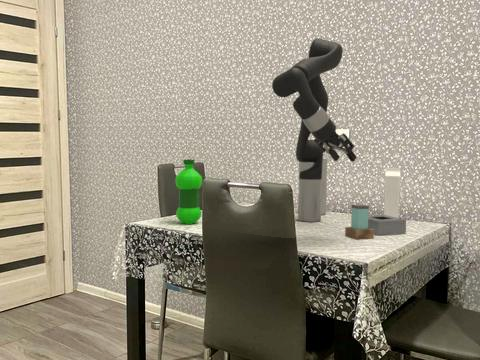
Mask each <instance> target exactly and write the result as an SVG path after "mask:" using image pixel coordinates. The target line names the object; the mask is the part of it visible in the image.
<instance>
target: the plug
mask: <svg viewBox="0 0 480 360" xmlns="http://www.w3.org/2000/svg"><path fill="white" fill-rule="evenodd" d="M369 209H370V206H369V205H367V204H362V203H361V204H357V203H355V204H351V214H350V215H351V218H350V223H351V224H350V227H351V228H352V229H356V230H366V229H368V216H369Z"/></svg>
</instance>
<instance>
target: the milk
mask: <svg viewBox="0 0 480 360" xmlns="http://www.w3.org/2000/svg"><path fill="white" fill-rule="evenodd" d="M384 175H385V176H384V177H385V178H384V203H383V204H384V205H383V215H387V216H392V217H396V218H400V199H401V198H400V196H401V168H400V167H385V172H384Z"/></svg>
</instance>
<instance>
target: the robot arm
mask: <svg viewBox="0 0 480 360" xmlns="http://www.w3.org/2000/svg"><path fill="white" fill-rule="evenodd" d="M343 53H344V52H343V47H342V45H341V44H340V43H338V42H335V41H331V40H327V39H323V38H314V39H313V40H312V42H311V44H310V46H309V51H308V57H306V58H303V59H301V60H299V61H298V62H297V63H295V64H294V65H293V66H292V67H290V69H288V70H286V71H284V72H281V73H280V74H278V75H277V76H276V77H275V78H274V79H273V80H272V85H271V87H272V91H273V93H274V95H275V96H278V97H279V98H287V97H290V96H291V95H294V94H296V93H297V94H298V95H299V96H298V97H297V98H295V100H294V101H293V103H292V107H293V109H294V111H295V112H296V114H297V115H298V116H299V118H300V119H301V121H300V128H299V133H298V139H297V143H296V147H295V158H296V160H297V161H298V163H299V162H314V164H313V166H312V167H310V168H309V169H307V170H304V171H301V172H300V173H299V172H298V194H299V203H297V204H298V205H297V206H298V208H297V212H298V213H297V214H298V215H297V220H298V222H312V223H314V222H320V221H321V220H322V215H321V189H322V164H323V159H324V153H326V154H329V156H330V157H331V159H332V160H333V161H334V162H337V161H338V160H339V159H340V154H338V152H337V151H336V150H338V151H339V152H340V151H342V152H343V153H344V154H345V155H346V157H347V158H348V159H349V160H350V162H355V161H356V160H357V155H356V154H355V153H354V151H353V150H354V148H355V145H354V144H353V142H352V141H351V139H350V138H349V137H348V136H347V134H346V133H345V132H344V133H342V134H341V135H339V134H338V132H336V131H337V125H335V123H334V121H333V120H332V118H331V117H330V116H329V115H328V113H327V111H328V105H329V96H328V95H329V94H328V93H327V90H326V88H325V85H324V83H323V80H322V78H321V74H324V73H326V72H329V71H332V70H334V69H335V68H337V67H338V66H339V64H340V62H341V61H342V58H343ZM311 135H312V136H313V138H314V139H309V138H310V136H311Z"/></svg>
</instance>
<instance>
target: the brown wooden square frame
mask: <svg viewBox="0 0 480 360" xmlns="http://www.w3.org/2000/svg"><path fill="white" fill-rule="evenodd" d="M344 236H345V237H347V238H351V239H355V240H367V239H368V240H369V239H374V238H375V237H374V236H375V235H374V229H370V228H368V229H366V230H356V229H352V228H351V226H345V228H344Z"/></svg>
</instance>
